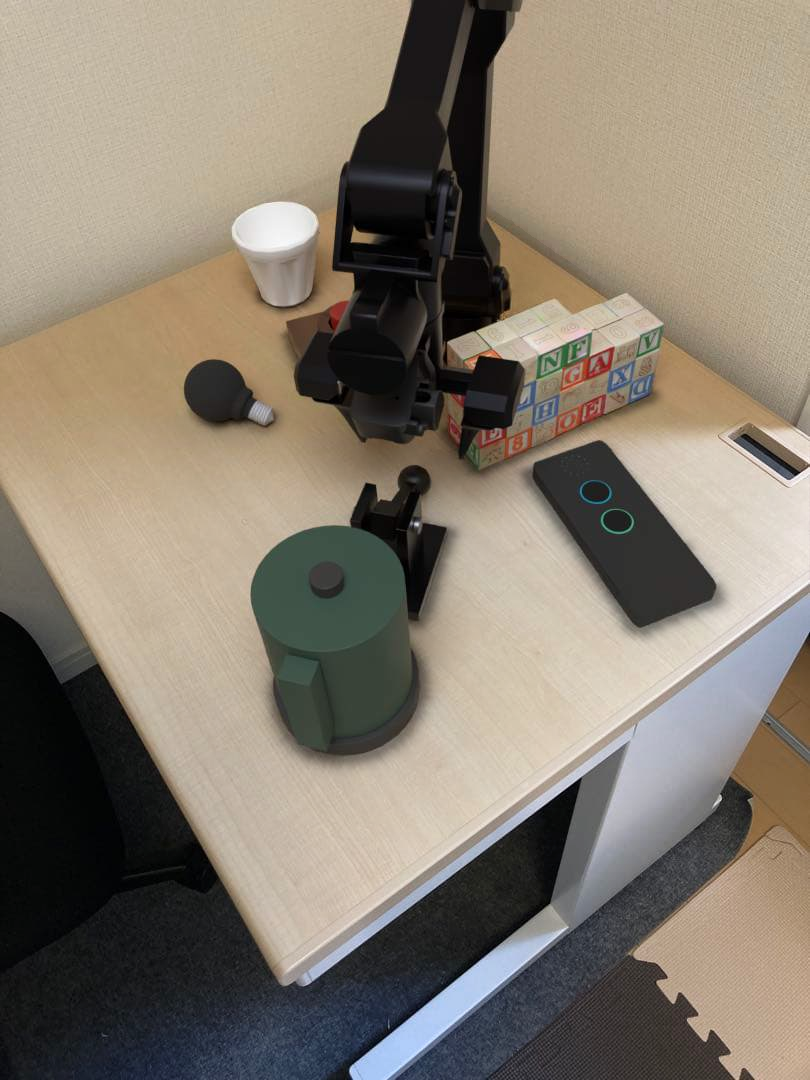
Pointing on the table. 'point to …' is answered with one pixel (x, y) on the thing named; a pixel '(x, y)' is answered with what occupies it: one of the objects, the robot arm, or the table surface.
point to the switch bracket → (407, 544)
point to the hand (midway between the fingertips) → (413, 448)
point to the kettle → (337, 638)
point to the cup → (279, 250)
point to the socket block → (308, 329)
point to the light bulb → (222, 394)
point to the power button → (337, 313)
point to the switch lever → (398, 501)
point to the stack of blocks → (560, 369)
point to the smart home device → (623, 533)
